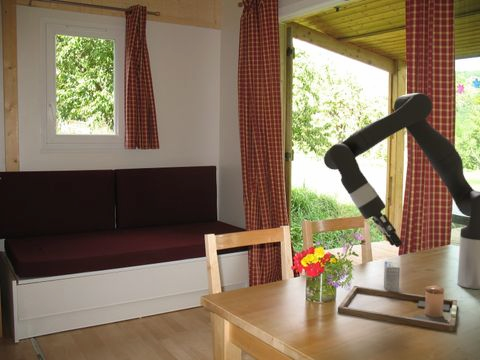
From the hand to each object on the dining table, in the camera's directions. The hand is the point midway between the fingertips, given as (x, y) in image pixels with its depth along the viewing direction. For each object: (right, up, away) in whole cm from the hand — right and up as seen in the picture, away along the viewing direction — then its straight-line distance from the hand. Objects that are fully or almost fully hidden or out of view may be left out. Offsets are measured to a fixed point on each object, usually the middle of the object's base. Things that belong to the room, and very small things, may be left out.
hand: (397, 244), depth 157 cm
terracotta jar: (+9, -20, -5) cm, 23 cm away
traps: (+9, -20, -5) cm, 22 cm away
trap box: (0, -19, -1) cm, 19 cm away
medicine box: (+3, -18, +18) cm, 26 cm away
